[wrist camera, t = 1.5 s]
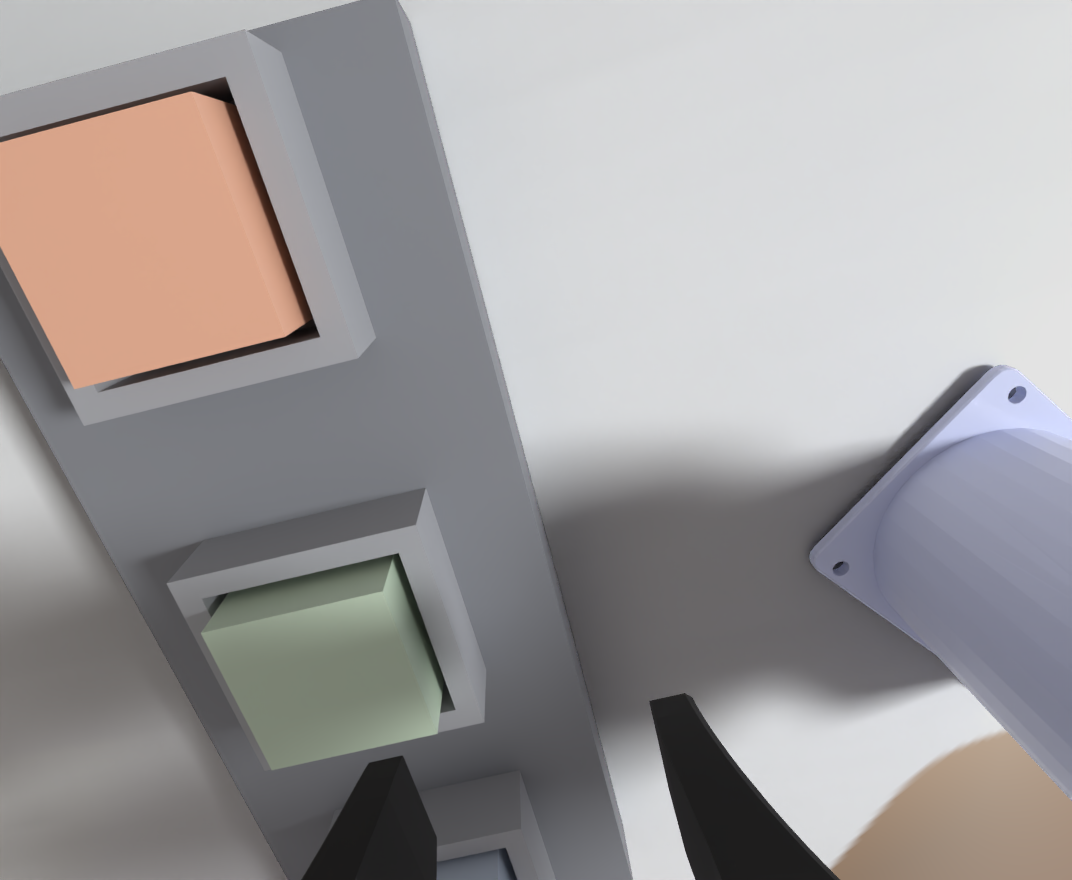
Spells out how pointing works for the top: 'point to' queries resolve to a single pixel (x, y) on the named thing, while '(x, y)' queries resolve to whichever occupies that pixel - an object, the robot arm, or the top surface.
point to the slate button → (478, 867)
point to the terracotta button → (147, 238)
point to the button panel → (340, 448)
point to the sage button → (329, 661)
